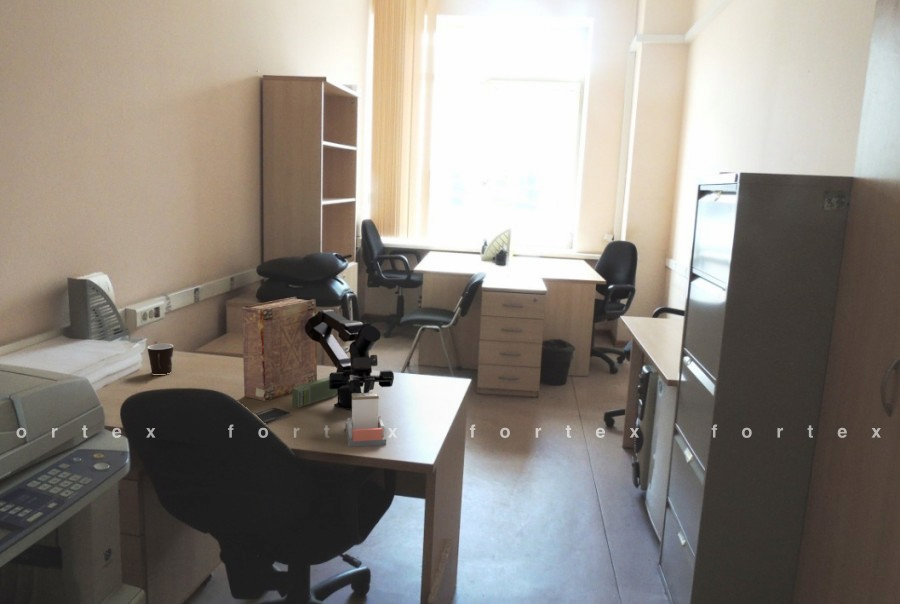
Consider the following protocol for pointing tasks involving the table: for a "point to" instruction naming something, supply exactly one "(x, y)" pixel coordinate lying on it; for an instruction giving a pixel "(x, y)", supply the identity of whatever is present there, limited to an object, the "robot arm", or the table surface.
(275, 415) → the phone
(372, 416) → the white box
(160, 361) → the coffee mug
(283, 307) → the book
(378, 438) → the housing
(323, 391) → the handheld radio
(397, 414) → the table surface
